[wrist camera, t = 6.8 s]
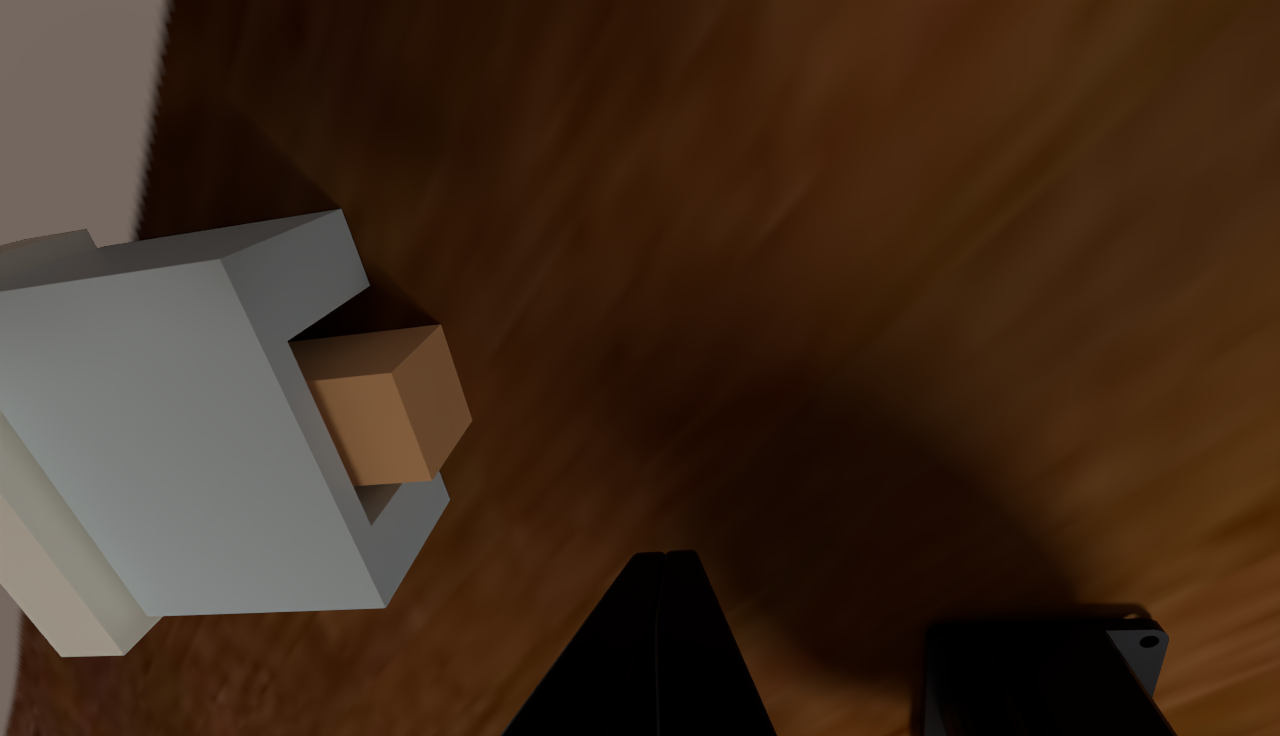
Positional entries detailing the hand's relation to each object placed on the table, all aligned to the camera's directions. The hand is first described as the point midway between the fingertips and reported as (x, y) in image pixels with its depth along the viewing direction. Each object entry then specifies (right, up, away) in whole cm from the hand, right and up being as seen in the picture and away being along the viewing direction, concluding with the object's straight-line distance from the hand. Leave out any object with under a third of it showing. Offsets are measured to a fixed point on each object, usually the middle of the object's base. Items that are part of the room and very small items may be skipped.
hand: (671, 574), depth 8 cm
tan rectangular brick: (-8, +2, +9) cm, 13 cm away
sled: (-11, +2, +9) cm, 14 cm away
